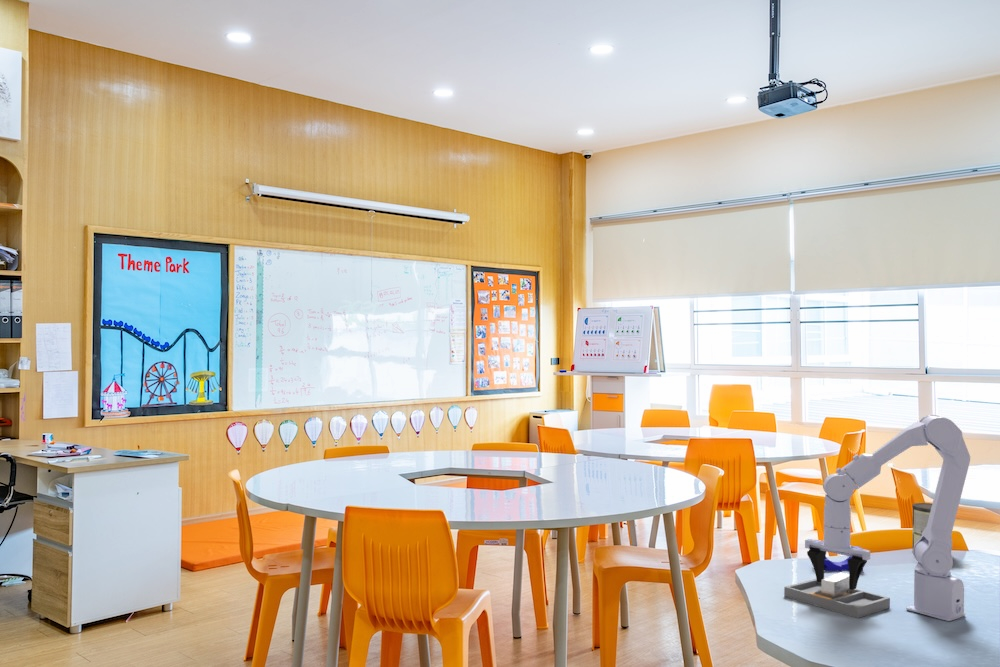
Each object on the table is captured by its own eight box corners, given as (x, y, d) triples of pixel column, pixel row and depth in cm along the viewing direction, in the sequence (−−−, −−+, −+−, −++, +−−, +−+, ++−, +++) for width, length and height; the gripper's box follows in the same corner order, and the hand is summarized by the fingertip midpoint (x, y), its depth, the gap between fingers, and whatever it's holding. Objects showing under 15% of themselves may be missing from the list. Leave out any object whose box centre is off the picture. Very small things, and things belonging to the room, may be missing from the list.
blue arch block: (819, 571, 211) (819, 548, 211) (813, 566, 216) (813, 544, 216) (865, 573, 210) (865, 550, 211) (858, 568, 215) (858, 546, 215)
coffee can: (906, 548, 239) (906, 502, 239) (942, 550, 237) (943, 503, 238) (919, 557, 228) (920, 508, 229) (957, 559, 227) (958, 510, 227)
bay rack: (889, 607, 180) (889, 597, 180) (857, 618, 172) (857, 607, 172) (817, 587, 195) (817, 577, 195) (784, 596, 187) (784, 586, 187)
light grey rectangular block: (852, 594, 186) (853, 575, 186) (834, 602, 179) (834, 582, 179) (840, 591, 188) (840, 572, 188) (821, 599, 182) (821, 579, 182)
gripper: (876, 529, 181) (875, 589, 181) (814, 518, 192) (813, 575, 192) (863, 533, 177) (862, 594, 176) (801, 522, 187) (800, 580, 187)
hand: (836, 584), depth 184 cm, fingers open, 7 cm apart
